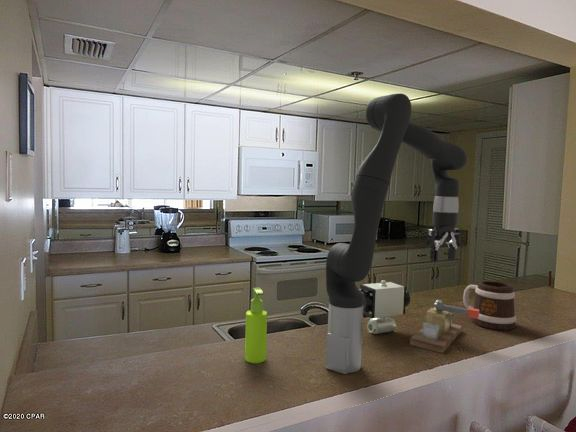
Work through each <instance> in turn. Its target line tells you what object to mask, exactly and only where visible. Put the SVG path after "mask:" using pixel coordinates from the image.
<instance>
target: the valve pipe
mask: <svg viewBox="0 0 576 432" xmlns="http://www.w3.org/2000/svg"><path fill="white" fill-rule="evenodd" d="M425 315H426V317H425V322H423V323H422V328H423V332H422V338H425V339H429V340H433V341H438V338H439V337H440V336H445V335H446V334H447V333H448V332H449V327H451V324H453V323H452V322H453V321H452V320H453V312H447V311H442V312H439V311H435V310H434V307H430V308H429V309H427V311H426V314H425Z"/></svg>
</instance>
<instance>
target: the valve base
mask: <svg viewBox="0 0 576 432" xmlns="http://www.w3.org/2000/svg"><path fill="white" fill-rule="evenodd" d="M462 330H463V326H462V325H460V324H456V323H455V324H454V323H452V324H451V327H449V332H448V333H447V334H446V335H445V336H440V337H439V338H438V341H433V340H429V339H425V338H422V332H423V327H422V328H421V329H420V330H418V331H417V332H415V333H414V334H413V335H412V336H411V337H410V338H409V346H413V347H418V348H420V349H421V348H422V349H425V350H430V351H434V352H438V353H442V354H444V352H445V351H446V350H447V349H448V348H449V346H450V345H451V344H452V343H453V342H454V341H455V340H456V338H457V337H458V336H459V335H460V334H461V333H462V332H463V331H462Z"/></svg>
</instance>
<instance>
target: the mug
mask: <svg viewBox="0 0 576 432" xmlns="http://www.w3.org/2000/svg"><path fill="white" fill-rule="evenodd" d="M472 290H474V292H475V297H474V303H473V305H471V304H470V299H469V298H470V293H471V292H472ZM515 297H516V293H515V292H514V289H513V287H512V286H511V285H510V284H508V283H504V282H500V281H499V282H498V281H490V280H489V281H487V280H484V281H480V282H479V283H478V284H469V285H467V286H466V287H465V289H464V291H463V298H462V301H463V305H464V306H465V307H466V309H468V308H474V309H479V318H478V319H475V318H470V319H471V320H470V321H472V322H473V324H475V325H476V326H479V327H482V328H485V329H490V330H494V331H511V330H512V329H514V328H516V322H517V316H516V314H515V300H514V299H515Z"/></svg>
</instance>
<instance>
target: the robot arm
mask: <svg viewBox="0 0 576 432" xmlns="http://www.w3.org/2000/svg"><path fill="white" fill-rule="evenodd" d="M364 114H365V118H366V121H367V124H368V125H369V126H370V127H371V128H373V129H374V130H376V131H378V132H381V133H380V136H379V139H378V141H377V143H376V144H375V145H374V147H373V148H372V150H371V151H370V152H369V153H368V155H367V156H366V157H365V159H364V160H363V161H362V162H361V164H360V165H359V167H358V168H357V171H356V174H355V177H354V181H353V184H352V188H351V193H350V196H351V197H350V199H351V200H350V201H351V208H352V212H353V218H354V219H353V220H354V221H353V222H354V223H353V224H354V225H353V232H352V236H351V239H350V242H349V243H345V242H338V243H336V244H334V245H332V246H331V248H330V249H329V251H328V253H327V256H326V261H325V285H326V293H327V296H328V313H327V314H328V317H327V333H326V341H325V343H326V346H325V369H328V370H330V371H333V372H337V373H340V374H343V375H347V374H350V373H351V374H352V373H356V372H358V371H360V370H361V365H362V346H363V345H362V344H363V342H362V341H363V323H364V322H363V319H364V314H363V302H364V297H363V294H362V293H361V292H360V290H359V289H360V288H358V286H357V285H356V283H357V282H358V283H359V282H362V281H363V280H364V279H366V277H367V276H368V274H369V272H370V271H371V268H372V265H373V259H374V254H375V249H376V241H377V234H378V231H379V226H380V221H381V218H382V212H383V208H384V205H385V202H386V200H387V196H388V195H387V194H388V190H389V187H390V183H391V179H392V175H393V171H394V167H395V165H396V161H397V158H398V157H397V156H398V154H399V151H400V147H401V145H402V143H404V144H406V145H407V146H409V147H411V148H412V149H414V150H415V151H417V152H418V153H419V154H421V155H422V156H423V157H425V158H426V159H428V160H430V163H431V164H430V165H431V169H432V173H433V179H434V183H435V185H434V188H435V189H434V200H433V208H432V209H433V210H432V225H433V226H434V229H433V228H427V230H426V240H425V248H427V249H429V250H430V255H429V260H430V262H433V263H437V262H438V259H439V257H438V256H439V249H440V247H441V246H442V245H443V244H447V246H448V249H447V259H448V261H455V259H456V251H457V249H458V247H459V248H460V247H461V246H462V245H461V244H462V229H461V228H457V226H458V221H459V220H458V219H459V206H460V205H459V187H460V182H459V180H458V179H456V178H454V177H451V176H449V175H448V174H449V173H448V171H459V170H461V169H463V168H464V167H465V166H466V164H467V160H468V156H467V154H466V151H465V150H464V149H463V148H462V147H460V146H459V145H457V144H455V143H453V142H450V141H447V140H444V139H443V138H441V136H439V135H438V134H436V132H434V131H432V130H430V129H428V128H427V127H424V126H422V125H419V124H416V123H413V122H410V120H411V116H412V102H411V100H410V98H409V96H407V94H404V93H391V94H387V95H381V96H378V97H374V98H372V99H371V100H370V101H369V102H368V103H367V104H366V107H365V113H364ZM455 227H456V228H455Z"/></svg>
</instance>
